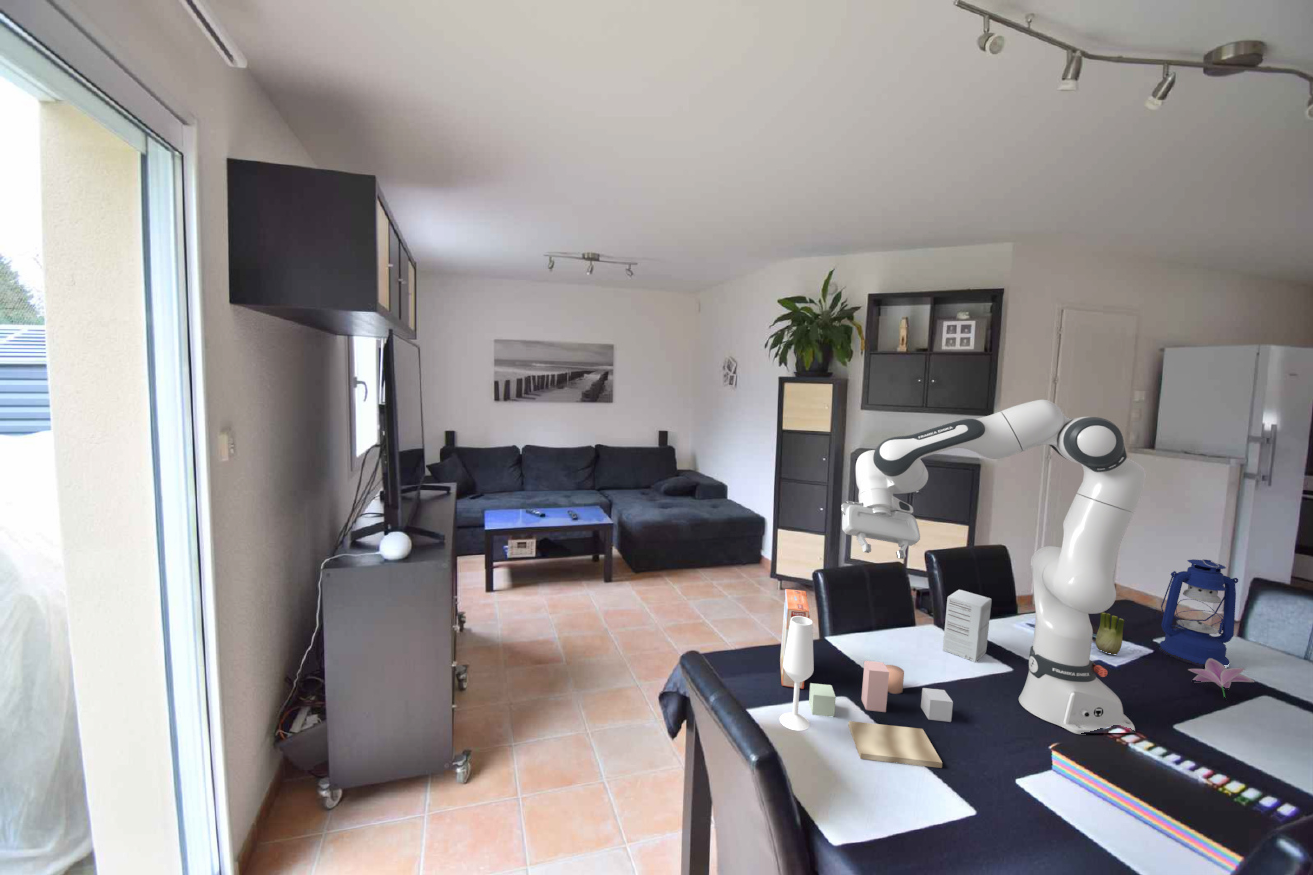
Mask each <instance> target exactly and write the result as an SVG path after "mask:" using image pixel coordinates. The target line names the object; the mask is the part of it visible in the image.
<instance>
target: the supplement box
mask: <svg viewBox="0 0 1313 875" xmlns="http://www.w3.org/2000/svg"><path fill="white" fill-rule="evenodd" d="M946 598H947V599H946V600H947V601H946V612H945V621H944V622H945V623H944V630H943V631H944V632H943V642H942V643H943V644H942V651H943V650H946V651H948V652H947V653H949V652H950V653H949V654H951V653H952V655H954V654H955V655H954V656H957V655H959V656H958V657H960V656H961V657H960V658H962V657H964V658H963V659H965V658H966V659H965V660H968V659H970V660H969V661H971V660H973V661H975V662H974V663H977V662H978V661H979V660H980V659H981V658H982V657H983V656H984V655H985V654H986V653H987V647H988V640H989V639H988V636H989V626H990V617H991V608H992V598H990V597H987V596H984V595H980V594H977V593H973V592H971V591H970V592H969V591H966V590H963V589H958V590H956V591H954V592H953V593H951V594H950V595H948V596H947V597H946ZM946 651H945V652H946ZM978 659H979V660H978ZM977 660H978V661H977ZM973 661H972V662H973ZM976 661H977V662H976Z"/></svg>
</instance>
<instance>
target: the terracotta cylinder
mask: <svg viewBox="0 0 1313 875" xmlns="http://www.w3.org/2000/svg"><path fill="white" fill-rule="evenodd" d="M885 666H886V667H887V669H888V671H889V681H888V692H887V693H891V694H894V695H895V694H896V695H898V694H901V693H903V692H904V680H905V679H904V678H905V670H904V669H903V668H901V667H900V666H897V665H893V664H885Z"/></svg>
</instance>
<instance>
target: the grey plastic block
mask: <svg viewBox="0 0 1313 875" xmlns="http://www.w3.org/2000/svg"><path fill="white" fill-rule="evenodd" d="M920 700H921V702H920V708H921V710H922V712H923V713H924V714H925V716H926V718H927V719H928V720H929V721H940V722H949V723H951V722H952V718H953V707H954V706H953V705H954V701H953V700H952V698H951V697H950V696H949V694H948V693H947V691H946V690H945V689H938V688H927V687H922V690H921V699H920Z"/></svg>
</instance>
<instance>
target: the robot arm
mask: <svg viewBox="0 0 1313 875" xmlns="http://www.w3.org/2000/svg"><path fill="white" fill-rule="evenodd" d="M1043 445H1044V446H1045V445H1046V446H1047V445H1049V446H1050V447H1051V448H1052V449H1053V450H1054V451H1055V452H1056V454H1058V455H1059V456H1060V457H1061V458H1064V459H1065V460H1067V461H1070V462H1072V463H1076V464H1078V465H1079V464H1080V465H1081V468H1083V478H1082V482H1081V484H1080V486H1079V487H1078V490H1077V492H1076V494H1075V496H1074V497H1073V500H1072V502H1071V505H1070V507H1069V509H1068V511H1067V513H1066V515H1065V518H1064V520H1063V522H1062V528H1063V535H1062V537H1063V538H1062V544H1061V547H1060V546H1054V545H1046V546H1043V547H1040V548H1039V549H1037V550H1036V551H1035V552H1034V553H1033V554H1032V555H1031V557H1030V569H1031V573H1032V580H1033V581H1032V582H1033V598H1034V606H1035V607H1034V608H1035V623H1034V632H1033V642H1032V645H1031V646H1030V649H1029V656H1028V674H1027V677H1026V681H1025V684H1024V687H1023V689H1022V691H1021V693H1020V695H1019V697H1018V701H1019V704H1020V705H1021V706H1022V707H1023V708H1024V709H1025V710H1026V711H1028V712H1029V713H1030V714H1032V715H1034V716H1036V717H1037V718H1040V719H1041V720H1043V721H1046V722H1048V723H1051V724H1054V725H1057V726H1059V727H1062V728H1064V729H1065V730H1067V731H1069V732H1071V733H1073V734H1076V735H1082V734H1081V733H1084V732H1090V731H1094V730H1097V729H1100V728H1106V727H1110V726H1113V725H1121V726H1124V727H1127V728H1131V729H1132V730H1134V731H1135V732H1136V728H1135V725H1134V723H1133V721H1131V719H1129V717H1127V715H1125V714H1124V707H1123V704H1122V701H1121V699H1120V698H1119V696H1118V695H1117V694H1116V693H1115V692H1114V691H1113V690H1112V689H1111V688H1109V686H1107V685H1106V684H1105V683H1104V682H1102V681H1101V680H1100V679H1099V678H1098V677H1097V676H1096V674H1097V675H1098V676H1099V677H1101V678H1105V677H1106V676H1107V675H1108V670H1107V669H1106V668H1105V667H1103V666H1102V665H1099V664H1097V665H1096V663H1095V662H1094V661H1093V660H1091V651H1092V644H1093V635H1094V630H1093V626H1092V623H1091V620H1090V615H1092V614H1093V615H1094V614H1095V615H1096V614H1101V612H1103V613H1105V611H1107V610H1108V609H1110V608H1111V607H1112V606H1113V605H1114V603H1115V601H1116V598H1117V591H1116V590H1117V589H1116V586H1115V572H1116V566H1117V559H1118V554H1119V549H1120V546H1121V542H1122V540H1123V538H1124V535H1125V533H1126V532H1127V529H1128V527H1129V526H1130V524H1131V521H1132V520H1133V519H1132V518H1133V516H1134V514H1135V512H1136V511H1137V508H1138V506H1139V504H1140V501H1141V498H1142V494H1143V492H1144V487H1145V483H1146V478H1147V472H1146V470H1145V468H1144V467H1143V466H1142V465H1141V464H1140V463H1138V462H1137V461H1135V460H1133V459H1131V458H1129V457H1128V455H1127V451H1126V445H1125V441H1124V436H1123V433H1122V432H1121V429H1120V428H1119V426H1117V425H1116V424H1115V423H1114V422H1112V421H1110V420H1108V419H1106V418H1103V417H1098V416H1097V417H1096V416H1080V417H1067V416H1066V415H1065V414H1064V413H1063V411H1062V410H1061V407H1060V406H1058V405H1057V404H1056V403H1054V402H1053V401H1051V400H1047V399H1042V398H1041V399H1036V400H1033V401H1026V402H1024V403H1019V404H1017V405H1014V406H1010V407H1008V408H1005V409H1003V410H1000V411H998V412H995V413H992V414H990V415H989V414H988V415H987V416H982V417H978V418H965V419H960V420H956V421H952V422H949V423H946V424H942V425H940V426H936V427H933V428H929V429H926V430H924V431H923V430H922V431H920V432H917V433H913V434H909V435H903V436H902V435H901V436H892V437H889V438H887V439H884V440H882V441H881V442H880V443H879V444H878V446H876V448H875V449H872V450H871V449H869V450H867V451H864V452H863V453H861V454H860V455H859V456H858V457H857V460H856V463H855V483H856V486H857V489H858V496H857V498H858V502H857V501H852V500H846V501H844V502H841V506H840V507H841V513H842V517H841V518H842V519H841V520H842V521H841V526H842V527H841V529H842V531H843V533H845V535H848V536H855V538H856V540H857V542H858V543H859V545H860V546H861V549H862V553H867V554H870V553H871V552H872V545H871V544H870V543H868V542H867V540H866V539H870V540H875V541H882V542H886V543H887V542H888V543H894V544H898V547H899V550H897V551H896V552H895V554H896V559H901V560H904V559H906V557H907V555H906V551H907V548H908V546H909V547H911V546H914V545H916V544H918V542H919V541H920V540H921V534H920V528H919V525H918V521H917V519H916V517H915V516H914V515H912V513H914V508H913V506H912V505H910V504H909V503H907V502H904V501H903V500H901V499H899V498H898V497H896V496H894V495H903V494H912V493H916V492H919V491H920V490H922V489H923V488H924V487H926V485H927V483H928V481H929V477H930V476H929V474H930V473H929V470H928V469H927V467H926V465H925V464H924V462H923V461H922V460H921V459H923V458H925V457H929V456H932V455H935V454H939V453H941V452H945V451H948V450H952V449H965V450H969V451H972V452H974V453H975V454H978V455H979V456H981V457H984V458H986V459H991V460H999V459H1003V458H1008V457H1011V456H1014V455H1018V454H1020V453H1022V452H1025V451H1027V450H1030V449H1033V448H1036V447H1039V446H1043ZM1127 457H1128V458H1127ZM1089 614H1090V615H1089Z"/></svg>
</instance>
